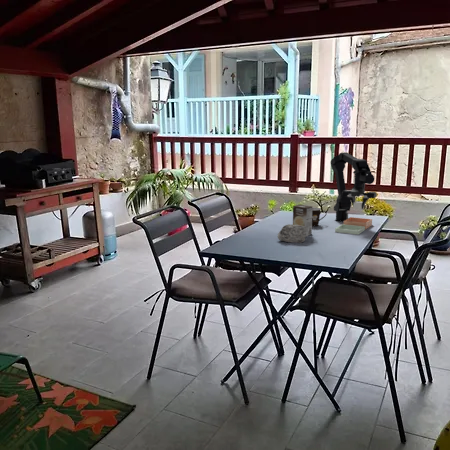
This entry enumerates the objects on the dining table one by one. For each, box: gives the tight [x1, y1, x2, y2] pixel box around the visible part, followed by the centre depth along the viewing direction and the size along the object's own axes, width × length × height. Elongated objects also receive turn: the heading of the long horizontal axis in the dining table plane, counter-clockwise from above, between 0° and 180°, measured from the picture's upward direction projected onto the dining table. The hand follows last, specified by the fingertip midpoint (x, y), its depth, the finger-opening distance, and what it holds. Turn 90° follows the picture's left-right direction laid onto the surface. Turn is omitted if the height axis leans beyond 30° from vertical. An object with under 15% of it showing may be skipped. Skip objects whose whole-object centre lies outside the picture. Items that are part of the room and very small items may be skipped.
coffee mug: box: [312, 207, 327, 228], centre depth 274 cm, size 12×9×10 cm
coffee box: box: [292, 204, 314, 238], centre depth 253 cm, size 9×6×16 cm
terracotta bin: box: [343, 216, 373, 230], centre depth 269 cm, size 13×12×4 cm
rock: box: [277, 223, 308, 244], centre depth 241 cm, size 16×8×10 cm, turn 61°
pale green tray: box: [334, 223, 366, 235], centre depth 258 cm, size 13×12×2 cm
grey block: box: [352, 200, 364, 212], centre depth 267 cm, size 4×4×4 cm
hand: (358, 208), depth 267 cm, fingers closed on grey block, 4 cm apart
